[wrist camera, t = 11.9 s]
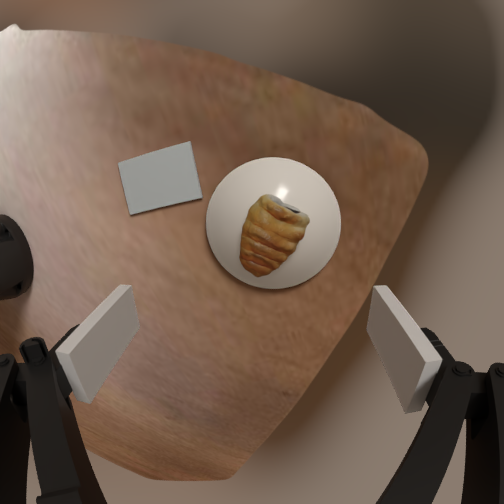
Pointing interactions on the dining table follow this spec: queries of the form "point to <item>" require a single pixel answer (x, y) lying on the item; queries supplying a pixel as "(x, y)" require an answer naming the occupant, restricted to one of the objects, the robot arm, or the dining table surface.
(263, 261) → the pastry
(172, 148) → the napkin
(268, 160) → the plate
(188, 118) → the dining table surface
